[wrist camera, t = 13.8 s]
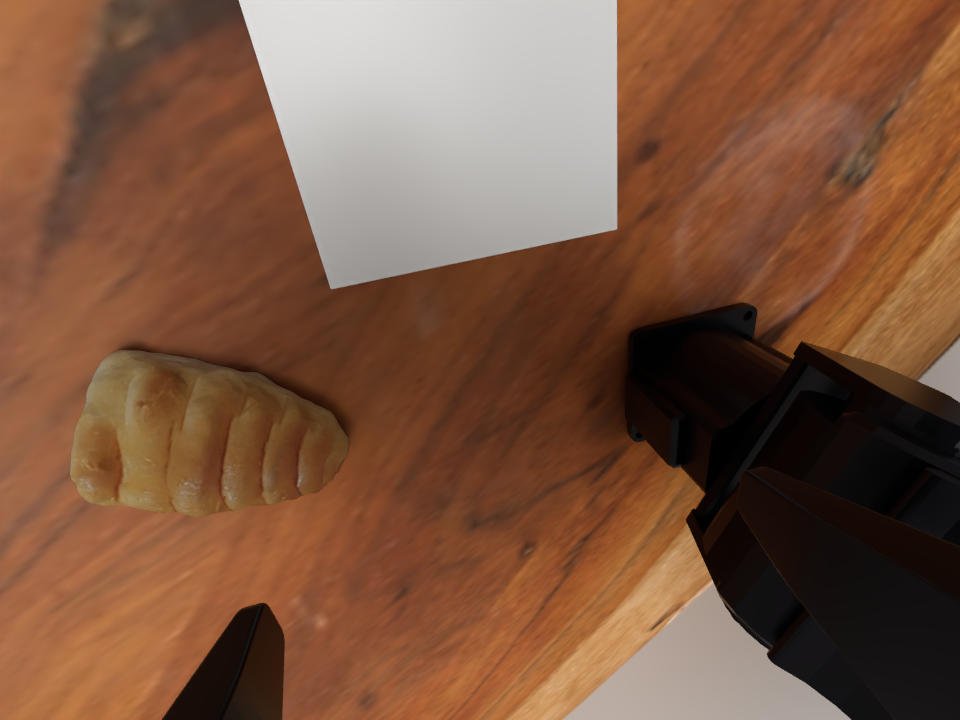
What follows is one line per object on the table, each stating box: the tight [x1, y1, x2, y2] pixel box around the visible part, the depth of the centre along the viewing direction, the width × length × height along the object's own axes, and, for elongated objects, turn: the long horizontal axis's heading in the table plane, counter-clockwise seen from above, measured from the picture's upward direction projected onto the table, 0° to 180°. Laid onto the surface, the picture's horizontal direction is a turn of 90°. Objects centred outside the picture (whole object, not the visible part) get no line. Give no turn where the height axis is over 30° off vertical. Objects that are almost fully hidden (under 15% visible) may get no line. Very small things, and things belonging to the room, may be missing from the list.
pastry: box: [70, 350, 349, 517], centre depth 18 cm, size 9×7×4 cm
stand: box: [239, 0, 617, 289], centre depth 15 cm, size 11×11×2 cm
